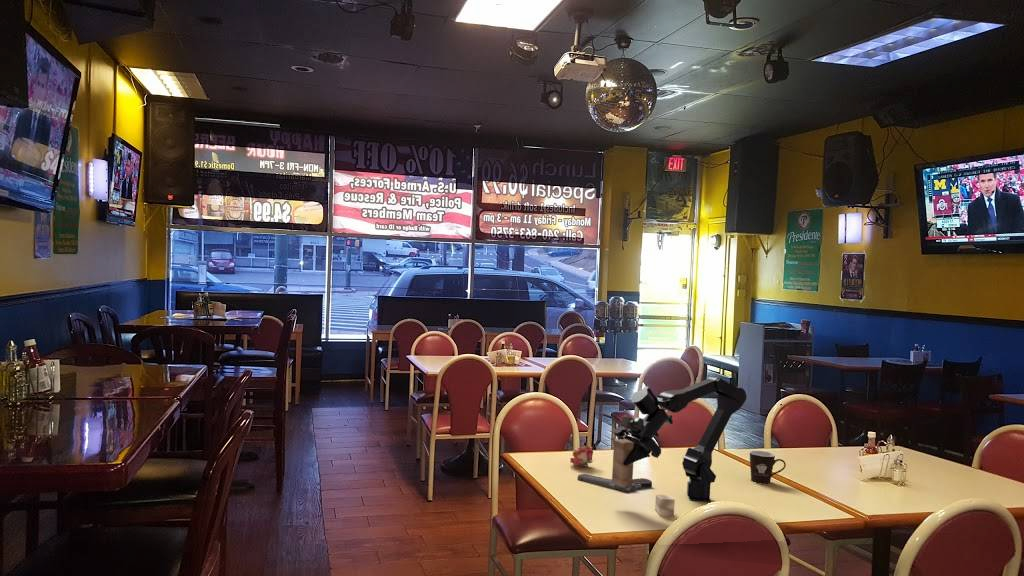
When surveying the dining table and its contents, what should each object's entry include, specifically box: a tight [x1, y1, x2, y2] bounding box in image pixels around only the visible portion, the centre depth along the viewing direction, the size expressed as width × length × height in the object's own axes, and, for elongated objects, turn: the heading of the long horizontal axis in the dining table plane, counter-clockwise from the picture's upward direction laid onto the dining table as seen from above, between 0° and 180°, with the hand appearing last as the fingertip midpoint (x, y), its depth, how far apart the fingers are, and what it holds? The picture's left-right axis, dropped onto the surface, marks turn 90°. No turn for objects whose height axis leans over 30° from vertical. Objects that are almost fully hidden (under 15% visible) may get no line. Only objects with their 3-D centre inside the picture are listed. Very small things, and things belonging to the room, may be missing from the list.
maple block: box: [654, 494, 676, 517], centre depth 217 cm, size 4×4×5 cm
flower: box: [569, 445, 594, 469], centre depth 267 cm, size 10×9×8 cm
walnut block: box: [611, 438, 634, 487], centre depth 222 cm, size 4×5×13 cm
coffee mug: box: [749, 450, 787, 485], centre depth 259 cm, size 12×9×10 cm
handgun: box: [577, 473, 653, 493], centre depth 247 cm, size 3×22×14 cm
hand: (619, 462), depth 221 cm, fingers closed on walnut block, 5 cm apart
